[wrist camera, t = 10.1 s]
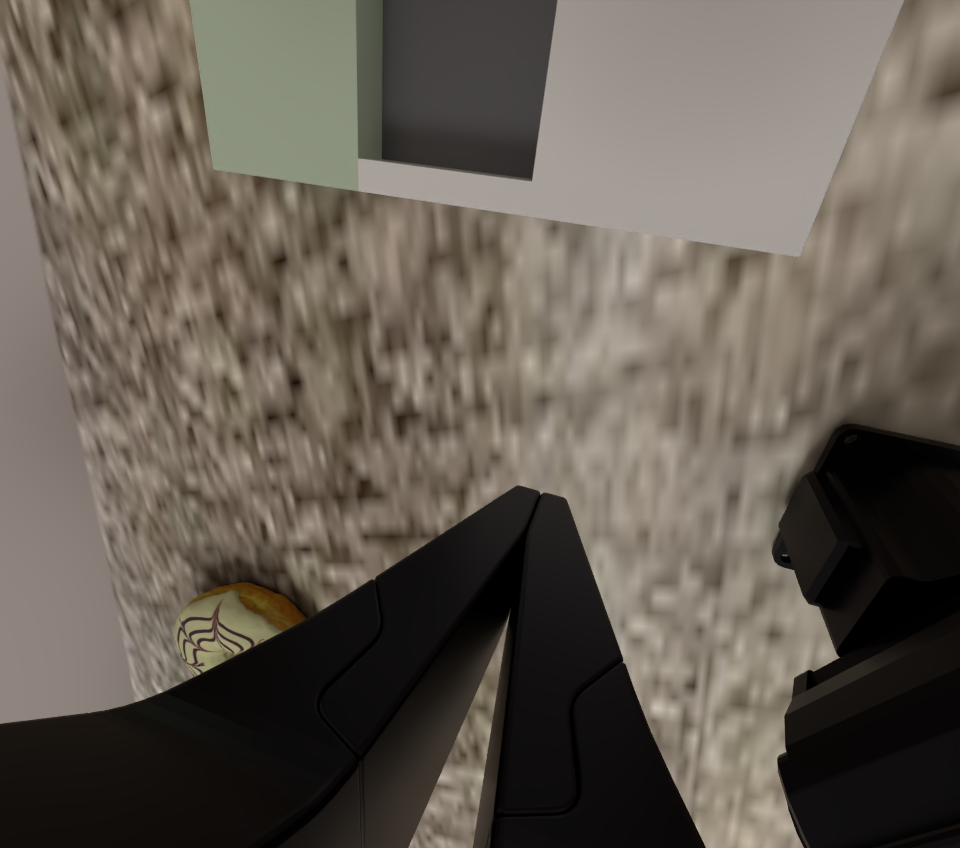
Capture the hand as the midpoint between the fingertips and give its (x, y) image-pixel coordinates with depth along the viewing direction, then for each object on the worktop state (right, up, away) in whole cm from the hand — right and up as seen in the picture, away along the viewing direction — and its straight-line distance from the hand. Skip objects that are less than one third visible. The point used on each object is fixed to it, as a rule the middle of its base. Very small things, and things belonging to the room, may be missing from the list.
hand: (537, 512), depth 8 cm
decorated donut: (-16, -13, +27) cm, 34 cm away
